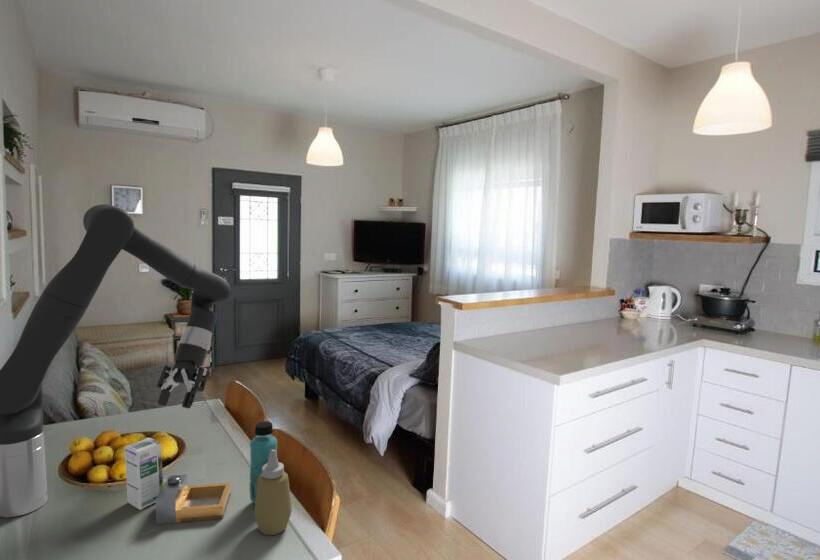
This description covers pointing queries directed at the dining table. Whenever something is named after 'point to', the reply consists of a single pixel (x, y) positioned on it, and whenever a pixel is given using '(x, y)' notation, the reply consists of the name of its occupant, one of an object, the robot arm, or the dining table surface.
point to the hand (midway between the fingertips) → (173, 406)
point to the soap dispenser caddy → (191, 501)
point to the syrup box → (143, 472)
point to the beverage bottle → (260, 453)
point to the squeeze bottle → (272, 497)
